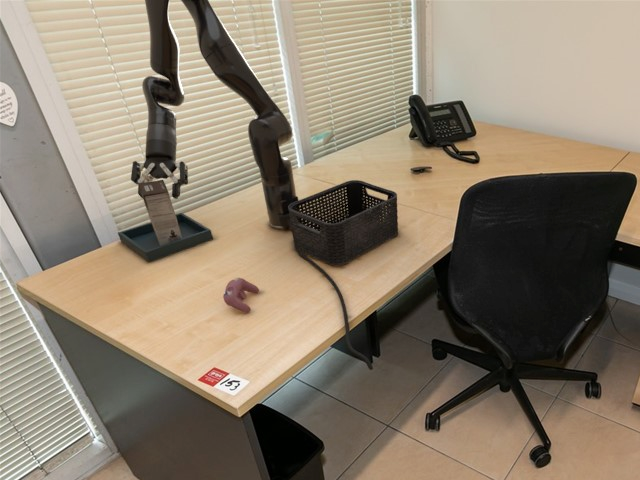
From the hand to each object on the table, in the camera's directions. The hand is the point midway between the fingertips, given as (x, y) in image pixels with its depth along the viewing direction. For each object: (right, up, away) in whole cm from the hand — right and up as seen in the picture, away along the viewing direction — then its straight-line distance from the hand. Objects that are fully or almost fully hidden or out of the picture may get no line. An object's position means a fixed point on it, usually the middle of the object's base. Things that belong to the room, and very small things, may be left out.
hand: (159, 197), depth 146 cm
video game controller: (+32, -30, -18) cm, 47 cm away
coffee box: (0, -11, +5) cm, 12 cm away
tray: (0, -12, +5) cm, 13 cm away
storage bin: (+51, -11, +11) cm, 53 cm away
